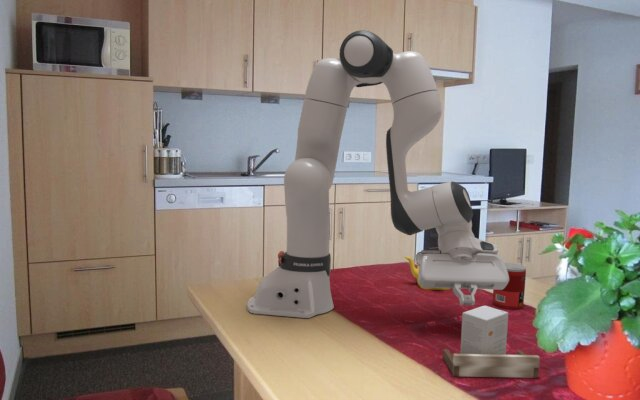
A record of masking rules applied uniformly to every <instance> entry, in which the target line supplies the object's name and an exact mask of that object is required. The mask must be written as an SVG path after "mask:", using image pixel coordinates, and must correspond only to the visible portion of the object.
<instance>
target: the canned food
mask: <svg viewBox="0 0 640 400" xmlns="http://www.w3.org/2000/svg"><path fill="white" fill-rule="evenodd" d="M504 263H505V266H506V269H507V272H508V275H509V282H508V284H507V285H506V287H505V288H504V289H503V290H495V289H492V290H493V291H492V304H493V305H494V306H495V307H498V308H501V309H505V310H520V309H522V308H523V307H524V303H525V302H524V301H525V291H526V278H527V277H526V276H527V268H526V266H524V265H523V264H518V263H513V262H512V263H510V262H504Z"/></svg>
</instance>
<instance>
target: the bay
mask: <svg viewBox="0 0 640 400" xmlns="http://www.w3.org/2000/svg"><path fill="white" fill-rule="evenodd" d="M442 354H443V355H442V359H443V361H444V363H445V364H446V366H447V367H448V369H449V371H450V373H451V374H452V376H453V377H469V378H470V377H472V378H473V377H477V378H479V377H482V378H483V377H484V378H523V379H525V378H526V379H527V378H528V379H530V378H531V379H532V378H533V379H538V378H539V373H540V363H541V361H540V360H541V357H540V356H539V355H537V354H533V355H532V354H526V353H525V352H524V351H523V350H516V354H506V355H499V354H460V353H451V351H450V350H449V348H443V352H442Z"/></svg>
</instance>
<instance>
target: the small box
mask: <svg viewBox="0 0 640 400" xmlns="http://www.w3.org/2000/svg"><path fill="white" fill-rule="evenodd" d="M461 317H462V318H461V333H460V349H459V350H460V351H459V352H460V353H459V354H499V355H507V340H508V327H509V326H508V325H509V324H508V323H509V312H508V311H506V310H505V311H504V310H501V309H498V308H494V307H491V306H488V305H482V306H478V307H476V308H472V309H470V310H467V311H463V312H462V315H461Z"/></svg>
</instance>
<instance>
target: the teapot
mask: <svg viewBox="0 0 640 400" xmlns="http://www.w3.org/2000/svg"><path fill="white" fill-rule="evenodd" d="M403 258H404V259H406V260H407V261H408V264H409V268H410V272H411V274H412V276H413V277H414V278H416V282H417V286H419V288H420V289H422V290H435V291H450V290H451V288H425V287H422V286H421V285H420V284H419V279H418V273H419V266H418V265H417V267H416V266H415V262H414V261H415V260H414V259H413V258H412V257H411V256H403Z"/></svg>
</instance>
